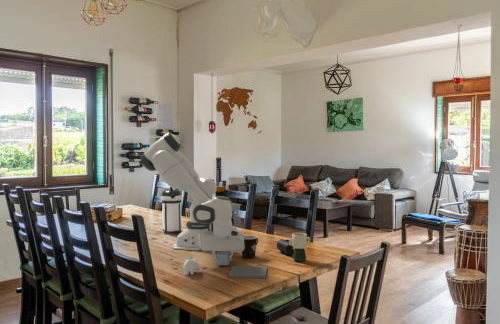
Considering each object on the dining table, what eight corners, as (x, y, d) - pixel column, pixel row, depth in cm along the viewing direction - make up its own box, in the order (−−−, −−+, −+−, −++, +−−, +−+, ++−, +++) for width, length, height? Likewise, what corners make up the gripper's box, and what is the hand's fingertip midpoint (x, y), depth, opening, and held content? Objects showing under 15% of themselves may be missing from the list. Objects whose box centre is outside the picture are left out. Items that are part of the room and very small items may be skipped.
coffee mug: (244, 260, 204) (244, 240, 204) (237, 256, 212) (236, 236, 212) (265, 257, 210) (265, 237, 209) (257, 253, 217) (257, 234, 217)
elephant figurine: (203, 275, 183) (203, 258, 182) (181, 276, 181) (180, 260, 180) (201, 269, 190) (201, 254, 190) (180, 271, 188) (179, 255, 188)
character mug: (306, 257, 208) (306, 231, 207) (313, 261, 201) (312, 234, 200) (286, 259, 205) (286, 233, 204) (291, 263, 198) (291, 236, 197)
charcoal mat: (228, 277, 179) (228, 275, 179) (232, 267, 193) (232, 265, 193) (265, 278, 177) (265, 276, 177) (267, 268, 191) (267, 266, 191)
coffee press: (189, 230, 274) (189, 185, 273) (172, 235, 261) (172, 187, 259) (170, 228, 283) (169, 183, 282) (152, 232, 270) (151, 186, 268)
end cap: (276, 252, 219) (276, 239, 219) (288, 250, 222) (287, 237, 222) (286, 256, 210) (286, 243, 210) (298, 255, 213) (298, 241, 213)
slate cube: (217, 265, 194) (216, 254, 194) (218, 261, 199) (218, 251, 199) (227, 265, 194) (227, 254, 193) (229, 262, 199) (229, 251, 198)
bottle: (217, 237, 254) (216, 188, 252) (203, 233, 266) (202, 186, 265) (238, 233, 263) (238, 186, 262) (223, 229, 276) (222, 184, 275)
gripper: (199, 232, 193) (199, 261, 194) (243, 232, 192) (243, 262, 192) (202, 229, 200) (202, 257, 200) (244, 229, 198) (245, 258, 199)
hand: (223, 260), depth 196 cm, fingers closed on slate cube, 5 cm apart
